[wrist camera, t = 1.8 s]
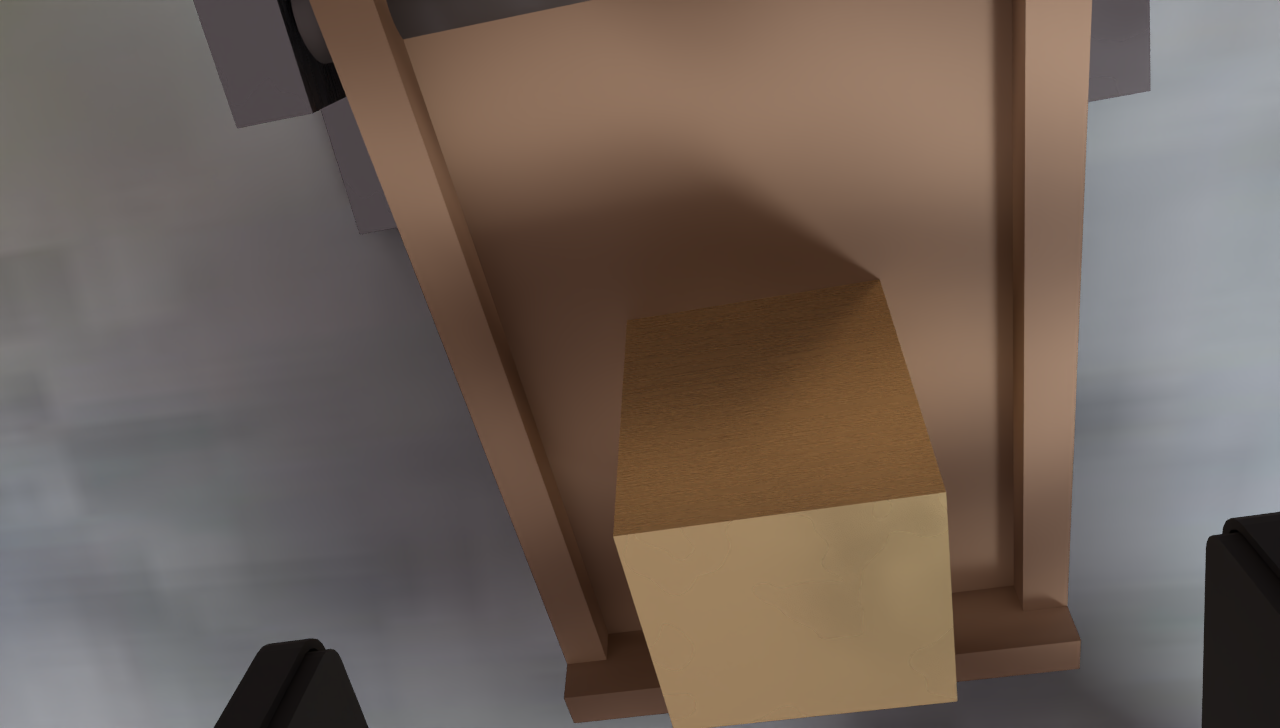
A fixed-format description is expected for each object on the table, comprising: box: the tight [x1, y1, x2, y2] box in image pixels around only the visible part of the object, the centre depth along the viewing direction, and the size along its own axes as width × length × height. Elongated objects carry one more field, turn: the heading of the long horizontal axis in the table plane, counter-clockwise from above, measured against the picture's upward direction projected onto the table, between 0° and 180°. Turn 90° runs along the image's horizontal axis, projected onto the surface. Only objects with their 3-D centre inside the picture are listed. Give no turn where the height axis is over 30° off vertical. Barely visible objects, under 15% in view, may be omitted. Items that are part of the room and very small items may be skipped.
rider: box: [613, 279, 957, 728], centre depth 19 cm, size 5×5×6 cm
